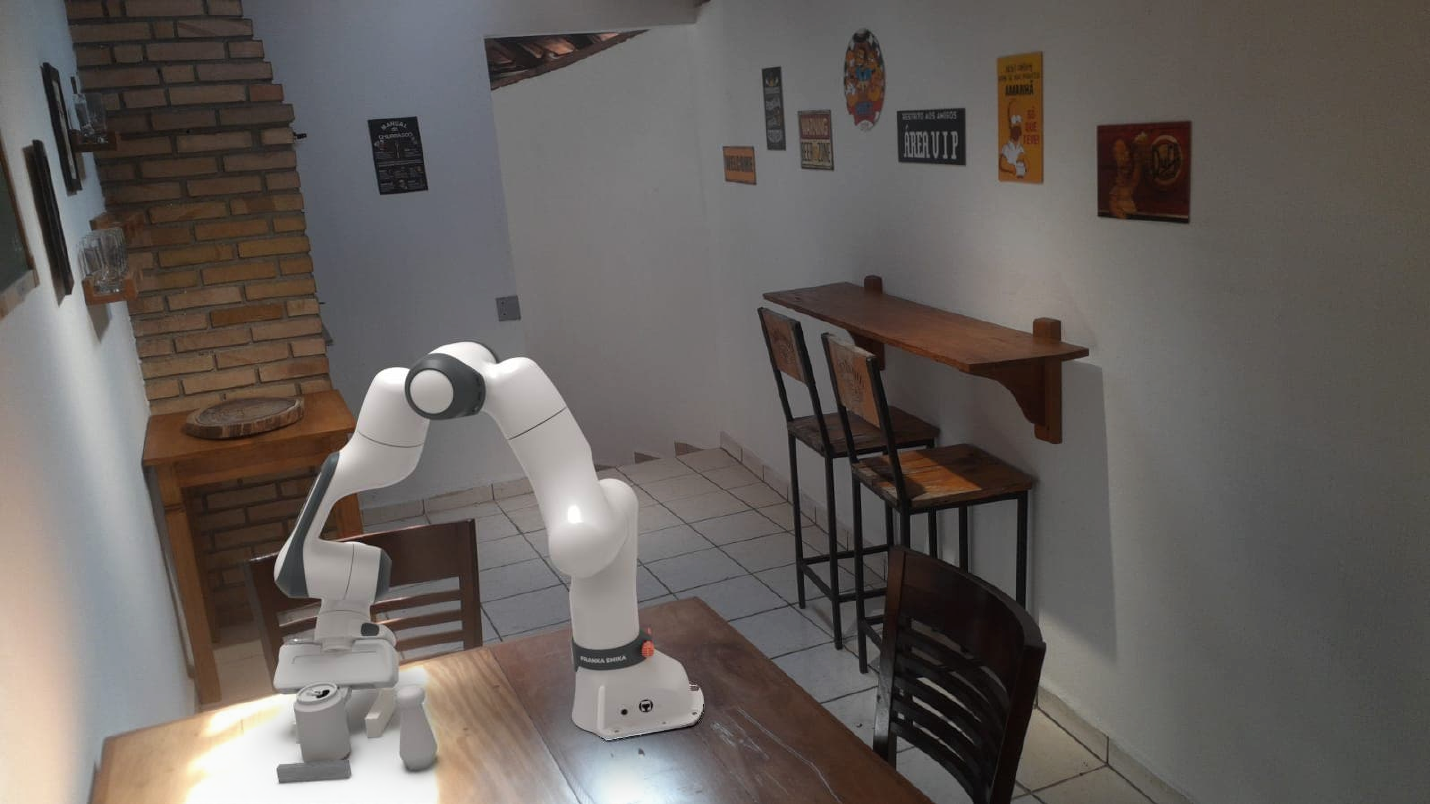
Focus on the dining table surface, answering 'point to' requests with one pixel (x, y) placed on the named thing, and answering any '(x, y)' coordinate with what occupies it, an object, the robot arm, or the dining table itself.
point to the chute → (374, 715)
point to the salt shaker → (415, 729)
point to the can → (322, 723)
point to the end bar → (313, 771)
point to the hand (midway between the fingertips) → (331, 716)
